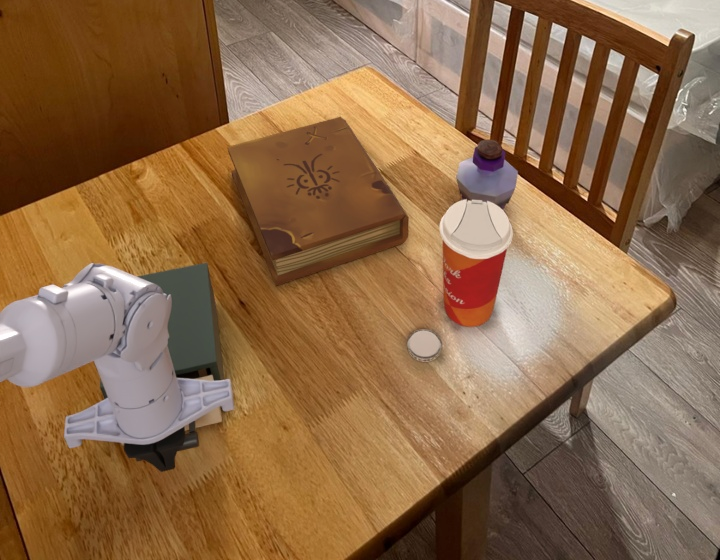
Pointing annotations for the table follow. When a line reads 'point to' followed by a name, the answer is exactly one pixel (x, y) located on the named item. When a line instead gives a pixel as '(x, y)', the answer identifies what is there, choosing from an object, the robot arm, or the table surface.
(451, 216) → the coffee cup
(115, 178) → the table surface
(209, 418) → the drawer
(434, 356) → the white bottle cap
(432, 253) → the table surface
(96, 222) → the table surface
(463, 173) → the potion bottle
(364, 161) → the diary
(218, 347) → the cabinet
